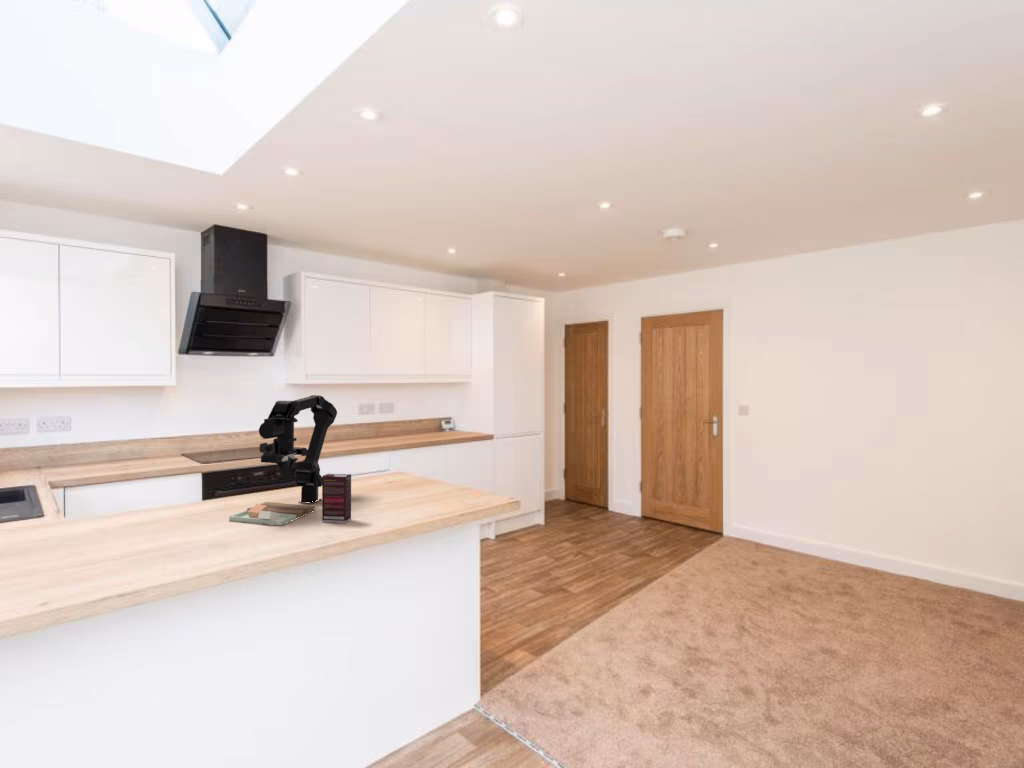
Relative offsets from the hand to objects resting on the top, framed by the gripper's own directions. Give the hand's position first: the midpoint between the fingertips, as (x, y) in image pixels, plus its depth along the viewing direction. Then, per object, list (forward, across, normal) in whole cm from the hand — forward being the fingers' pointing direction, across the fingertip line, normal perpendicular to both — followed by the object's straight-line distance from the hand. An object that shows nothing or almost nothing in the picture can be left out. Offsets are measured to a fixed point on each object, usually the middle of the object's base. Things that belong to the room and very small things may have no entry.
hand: (285, 478), depth 186 cm
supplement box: (+12, +5, +24) cm, 27 cm away
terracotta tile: (+11, +9, -3) cm, 15 cm away
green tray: (+12, +11, 0) cm, 16 cm away
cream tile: (+8, +13, +4) cm, 16 cm away
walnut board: (+12, +2, 0) cm, 12 cm away
